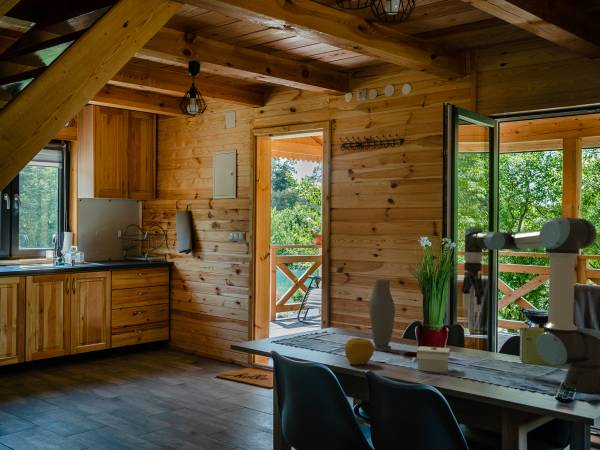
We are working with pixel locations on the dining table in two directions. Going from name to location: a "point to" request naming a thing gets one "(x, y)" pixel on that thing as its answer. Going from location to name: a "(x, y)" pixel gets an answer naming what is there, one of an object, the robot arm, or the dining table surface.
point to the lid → (433, 353)
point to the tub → (432, 365)
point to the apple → (359, 351)
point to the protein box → (530, 346)
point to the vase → (382, 315)
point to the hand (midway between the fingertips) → (471, 310)
